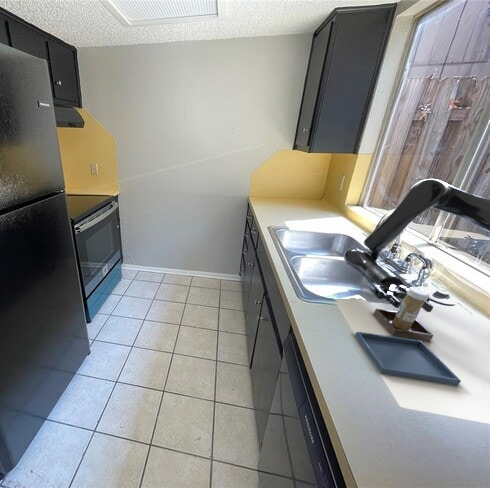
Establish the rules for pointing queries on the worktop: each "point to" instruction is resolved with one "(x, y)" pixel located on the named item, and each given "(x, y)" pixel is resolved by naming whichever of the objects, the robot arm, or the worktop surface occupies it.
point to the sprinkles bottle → (410, 308)
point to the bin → (415, 331)
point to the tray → (405, 358)
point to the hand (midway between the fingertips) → (414, 307)
